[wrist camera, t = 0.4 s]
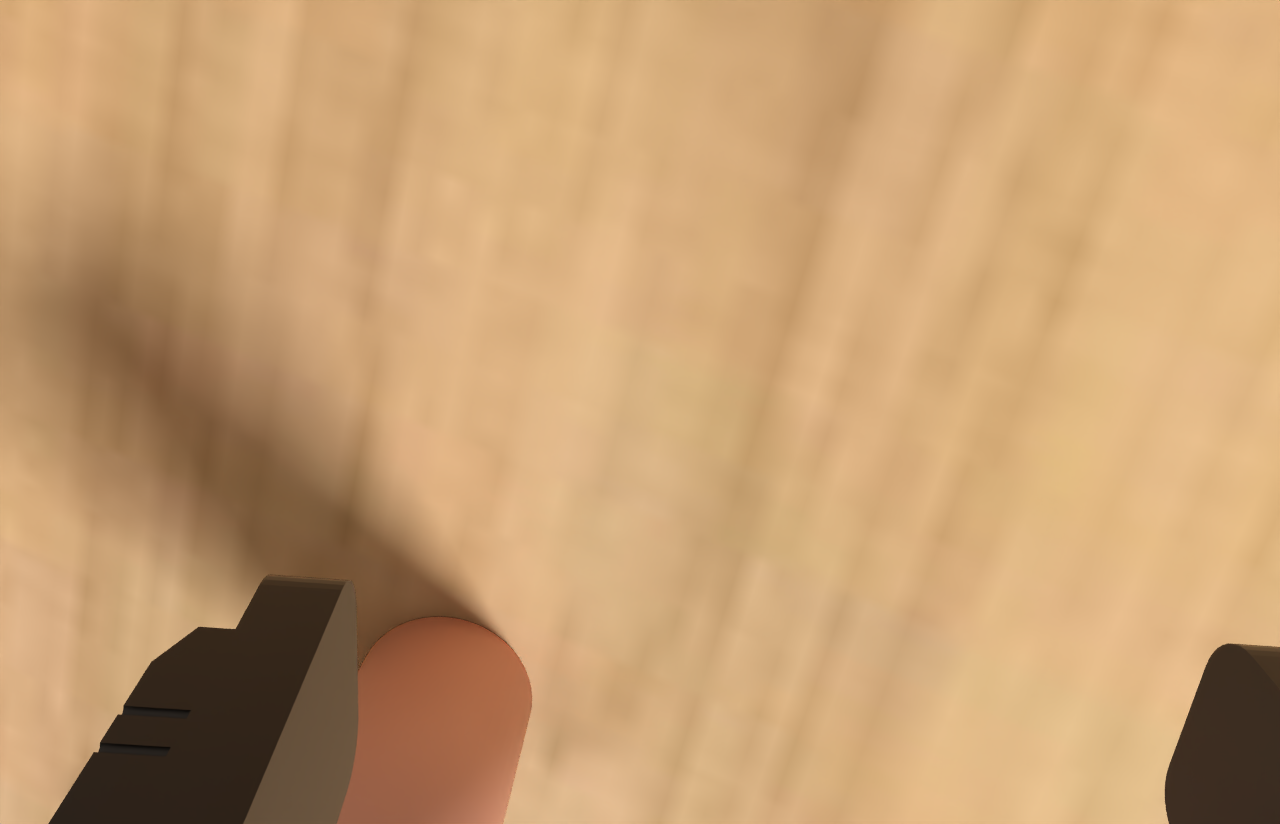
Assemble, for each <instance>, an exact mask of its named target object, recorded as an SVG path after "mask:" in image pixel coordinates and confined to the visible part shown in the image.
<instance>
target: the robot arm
mask: <svg viewBox="0 0 1280 824" xmlns="http://www.w3.org/2000/svg"><path fill="white" fill-rule="evenodd" d="M357 735H358V663H357V613H356V593H355V588H354V585H353V582H352V581H350V580H338V579H323V578H309V577H294V576H280V575H268V576H266V577H265V578H264V579H263V581H262V582H261V584H260V585H259V587H258V589H257V591H256V593H255V595H254V596H253V598H252V600H251V602H250V604H249V606H248V607H247V609H246V611H245V613H244V615H243V616H242V618H241V620H240V622H239V624H238V626H237V627H236V629H223V628H208V627H198V628H197V629H195V630H194V631H193V632H191V633H190V634H189V635H187V636H186V637H185V638H183V639H182V640H180V641H179V642H178V643H176V644H175V645H174V646H172V647H171V648H170V649H168V650H167V651H166V652H164V653H163V654H162V655H160V656H159V657H158V658H156V659H155V660H153V661H152V662H151V663H150V665H149V667H148V668H147V670H146V671H145V673H144V674H143V676H142V678H141V679H140V681H139V682H138V684H137V685H136V687H135V689H134V690H133V692H132V693H131V695H130V696H129V698H128V700H127V701H126V703H125V704H124V709H123V713H122V715H117V717H116V718H115V720H114V722H113V723H112V725H111V726H110V728H109V729H108V731H107V733H106V734H105V736H104V737H103V739H102V740H101V742H100V749H99V752H98V753H97V752H94V753H93V755H92V756H91V758H90V759H89V761H88V762H87V764H86V766H85V767H84V769H83V770H82V772H81V773H80V775H79V777H78V778H77V780H76V781H75V783H74V784H73V786H72V788H71V789H70V791H69V792H68V794H67V795H66V797H65V799H64V800H63V802H62V803H61V805H60V806H59V808H58V810H57V811H56V813H55V814H54V816H53V817H52V819H51V821H50V822H49V824H337V821H338V818H339V815H340V812H341V809H342V806H343V802H344V799H345V796H346V793H347V790H348V786H349V783H350V779H351V775H352V770H353V765H354V759H355V752H356V745H357ZM1165 804H1166V812H1167V817H1168V821H1169V824H1280V647H1272V646H1257V645H1243V644H1225V645H1222V646H1221V647H1219V648H1217V649H1216V650H1215V651H1214V652H1213V654H1212V655H1211V657H1210V658H1209V660H1208V663H1207V665H1206V667H1205V670H1204V673H1203V675H1202V678H1201V681H1200V684H1199V686H1198V689H1197V692H1196V694H1195V697H1194V700H1193V702H1192V705H1191V708H1190V711H1189V713H1188V716H1187V719H1186V721H1185V724H1184V727H1183V730H1182V732H1181V735H1180V738H1179V740H1178V743H1177V746H1176V749H1175V751H1174V754H1173V757H1172V759H1171V762H1170V765H1169V768H1168V771H1167V776H1166V781H1165Z"/></svg>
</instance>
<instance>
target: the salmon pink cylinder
mask: <svg viewBox="0 0 1280 824" xmlns="http://www.w3.org/2000/svg"><path fill="white" fill-rule="evenodd" d="M531 707H532V692H531V685H530V681H529V677H528V675H527V672H526V670H525V668H524V666H523V664H522V662H521V661H520V659H519V658H518V656H517V655H516V654H515V652H514V651H513V650H512V649H511V648H510V647H509V646H508V645H507V644H506V642H504V641H503V640H502V639H501V638H499V637H498V636H497V635H495V634H494V633H492V632H491V631H489V630H487V629H486V628H484V627H481V626H479V625H477V624H475V623H472V622H469V621H466V620H462V619H457V618H451V617H426V618H419V619H416V620H412V621H408V622H406V623H403V624H401V625H399V626H397V627H395V628H393V629H392V630H390V631H389V632H387V633H386V634H385V635H383V636H382V637H381V638H380V639H379V640H378V641H377V642H376V643H375V644H374V645H373V647H372V648H371V650H370V651H369V653H368V654H367V656H366V658H365V660H364V662H363V663H362V665H361V667H360V669H359V671H358V735H357V745H356V752H355V759H354V765H353V770H352V775H351V779H350V783H349V786H348V790H347V793H346V796H345V799H344V802H343V806H342V809H341V812H340V815H339V818H338V821H337V824H503V822H504V818H505V814H506V810H507V806H508V802H509V798H510V794H511V790H512V786H513V782H514V778H515V774H516V770H517V765H518V761H519V757H520V753H521V749H522V745H523V741H524V737H525V733H526V729H527V725H528V721H529V717H530V712H531Z"/></svg>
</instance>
